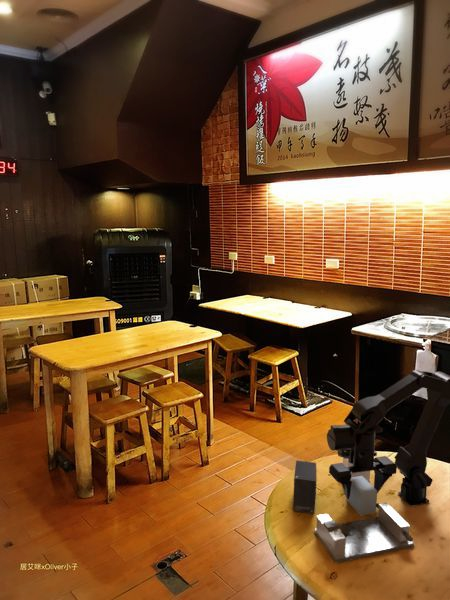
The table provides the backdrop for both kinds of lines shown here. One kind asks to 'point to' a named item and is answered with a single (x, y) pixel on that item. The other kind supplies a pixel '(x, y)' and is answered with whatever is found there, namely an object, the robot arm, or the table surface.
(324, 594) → the table surface
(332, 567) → the table surface
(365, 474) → the medicine bottle
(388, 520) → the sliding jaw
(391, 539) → the vise
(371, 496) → the block
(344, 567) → the table surface
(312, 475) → the small box
